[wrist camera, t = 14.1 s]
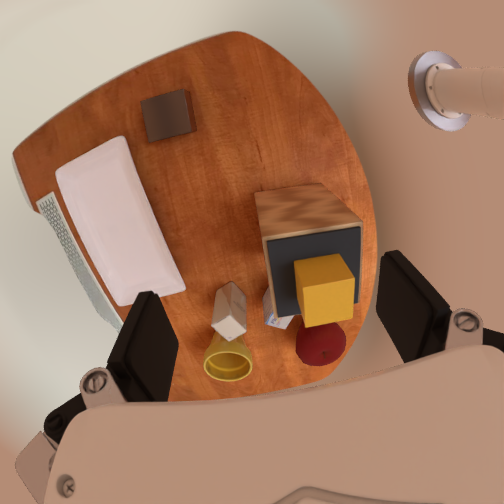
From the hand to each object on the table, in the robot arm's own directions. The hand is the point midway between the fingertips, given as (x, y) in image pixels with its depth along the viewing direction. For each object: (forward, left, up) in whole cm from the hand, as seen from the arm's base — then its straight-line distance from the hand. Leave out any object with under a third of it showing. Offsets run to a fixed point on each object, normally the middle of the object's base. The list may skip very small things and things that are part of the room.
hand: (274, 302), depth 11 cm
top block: (-6, +12, -19) cm, 23 cm away
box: (+8, +26, -38) cm, 47 cm away
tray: (+26, +7, -38) cm, 47 cm away
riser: (-6, +12, -38) cm, 41 cm away
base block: (+11, -10, -38) cm, 41 cm away
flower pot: (+11, +38, -38) cm, 55 cm away
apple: (-9, +38, -38) cm, 55 cm away
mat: (-6, +12, -19) cm, 23 cm away
